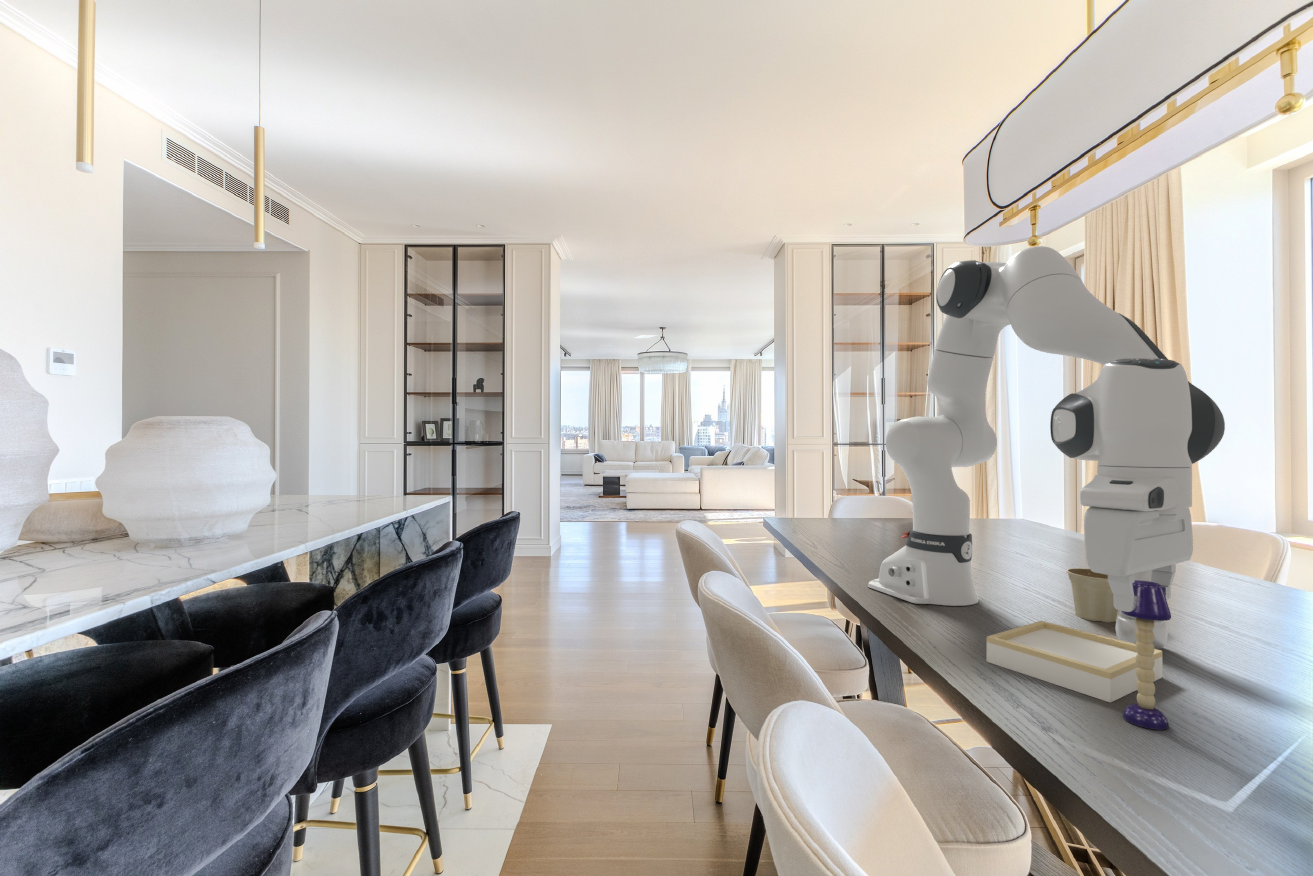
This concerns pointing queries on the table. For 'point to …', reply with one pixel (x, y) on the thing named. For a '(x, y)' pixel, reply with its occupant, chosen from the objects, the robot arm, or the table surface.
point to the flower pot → (1092, 595)
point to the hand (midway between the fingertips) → (1142, 604)
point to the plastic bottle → (1128, 625)
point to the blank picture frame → (1070, 658)
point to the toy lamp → (1147, 654)
